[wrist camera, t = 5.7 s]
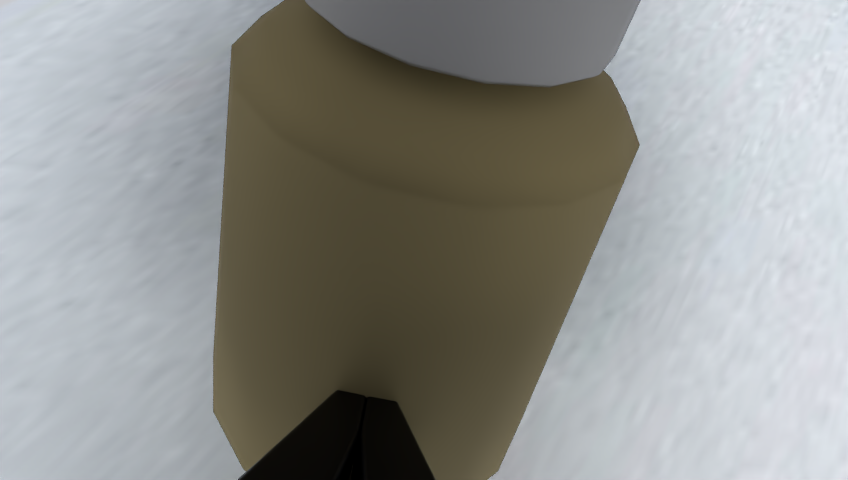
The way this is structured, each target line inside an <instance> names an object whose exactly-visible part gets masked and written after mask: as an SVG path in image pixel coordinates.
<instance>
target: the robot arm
mask: <svg viewBox="0 0 848 480" xmlns="http://www.w3.org/2000/svg"><path fill="white" fill-rule="evenodd" d="M365 402H366V403H365ZM364 407H365V408H364ZM363 412H364V413H363ZM352 466H353V467H352ZM351 471H352V472H351ZM350 476H351V477H350ZM238 480H436V479H435V477H434V475H433V473H432V471H431V469H430V467H429V465H428V463H427V461H426V459H425V457H424V455H423V453H422V451H421V449H420V447H419V445H418V443H417V441H416V439H415V437H414V434H413V432H412V430H411V428H410V426H409V424H408V422H407V420H406V418H405V416H404V414H403V412H402V410H401V408H400V406H399V404H398V402H396V401H391V400H386V399H381V398H376V397H367V399H366V397H365V396H364V395H361V394H356V393H351V392H345V391H340V390H336V391H335V392H334V393H332V394H331V395H330V396H329V397H328V398H327V399H326V400H325V401H324V402H323V403H321V404H320V405H319V406H318V407H317V408H316V409H315V410H314V411H313V412H312V413H310V414H309V415H308V416H307V417H306V418H305V419H304V420H303V421H302V422H300V423H299V424H298V425H297V426H296V427H295V428H294V429H293V430H292V431H291V432H289V433H288V434H287V435H286V436H285V437H284V438H283V439H282V440H281V441H280V442H278V443H277V444H276V445H275V446H274V447H273V448H272V449H271V450H270V451H269V452H267V453H266V454H265V455H264V456H263V457H262V458H261V459H260V460H259V461H258V462H256V463H255V464H254V465H253V466H252V467H251V468H250V469H249V470H248V471H247V472H245V473H244V474H243V475H242V476H241V477H240V478H239V479H238Z"/></svg>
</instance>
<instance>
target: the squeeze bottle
mask: <svg viewBox="0 0 848 480" xmlns="http://www.w3.org/2000/svg"><path fill="white" fill-rule="evenodd" d="M639 3H640V0H284V1H283V2H281V3H280V4H279V5H277V6H276V7H274V8H273V9H271V10H270V11H268V12H267V13H265V14H264V15H263V16H261V17H260V18H259V19H258V20H257V21H256V22H255V23H254V24H253V25H252V26H251V27H250V28H249V29H248V30H247V31H246V32H245V33H244V34H243V35H242V36H241V37H240V38H239V39H238V40H237V41H236V42H235V43H234V44H233V45H232V49H231V66H230V83H229V99H228V116H227V133H226V150H225V167H224V184H223V201H222V217H221V234H220V251H219V268H218V285H217V302H216V319H215V336H214V352H213V412H214V414H215V416H216V418H217V420H218V421H219V423H220V425H221V427H222V429H223V431H224V433H225V435H226V437H227V439H228V441H229V443H230V444H231V446H232V448H233V450H234V452H235V454H236V456H237V458H238V460H239V462H240V464H241V466H242V467H243V469H244V470H245V471H246V472H247V471H248V470H249V469H250V468H251V467H252V466H253V465H254V464H255V463H256V462H258V461H259V460H260V459H261V458H262V457H263V456H264V455H265V454H266V453H267V452H269V451H270V450H271V449H272V448H273V447H274V446H275V445H276V444H277V443H278V442H280V441H281V440H282V439H283V438H284V437H285V436H286V435H287V434H288V433H289V432H291V431H292V430H293V429H294V428H295V427H296V426H297V425H298V424H299V423H300V422H302V421H303V420H304V419H305V418H306V417H307V416H308V415H309V414H310V413H312V412H313V411H314V410H315V409H316V408H317V407H318V406H319V405H320V404H321V403H323V402H324V401H325V400H326V399H327V398H328V397H329V396H330V395H331V394H332V393H334V392H335V391H336V390H340V391H345V392H351V393H356V394H361V395H364V396H365V397H366V399H367V397H376V398H381V399H386V400H391V401H396V402H398V404H399V406H400V408H401V410H402V412H403V414H404V416H405V418H406V420H407V422H408V424H409V426H410V428H411V430H412V432H413V434H414V437H415V439H416V441H417V443H418V445H419V447H420V449H421V451H422V453H423V455H424V457H425V459H426V461H427V463H428V465H429V467H430V469H431V471H432V473H433V475H434V477H435V479H436V480H487V479H489V478H490V477H491V476H492V475H494V474H495V473H496V472H497V471H498V470H499V468H500V465H501V463H502V461H503V459H504V457H505V454H506V452H507V450H508V448H509V446H510V443H511V441H512V439H513V437H514V435H515V432H516V430H517V428H518V426H519V423H520V421H521V419H522V417H523V414H524V412H525V410H526V407H527V405H528V403H529V401H530V398H531V396H532V394H533V391H534V389H535V387H536V384H537V382H538V380H539V377H540V375H541V373H542V370H543V368H544V366H545V363H546V361H547V359H548V356H549V354H550V352H551V350H552V347H553V345H554V343H555V340H556V338H557V336H558V333H559V331H560V329H561V326H562V324H563V322H564V319H565V317H566V315H567V312H568V310H569V308H570V305H571V303H572V301H573V298H574V296H575V294H576V292H577V289H578V287H579V285H580V282H581V280H582V278H583V275H584V273H585V271H586V268H587V266H588V264H589V261H590V259H591V257H592V254H593V252H594V250H595V247H596V245H597V243H598V241H599V238H600V236H601V234H602V231H603V229H604V227H605V224H606V222H607V220H608V217H609V215H610V213H611V210H612V208H613V206H614V203H615V201H616V199H617V196H618V194H619V192H620V190H621V187H622V185H623V183H624V180H625V178H626V176H627V173H628V171H629V169H630V166H631V164H632V162H633V159H634V157H635V155H636V152H637V150H638V148H639V145H640V144H639V141H638V139H637V136H636V133H635V131H634V128H633V125H632V122H631V120H630V117H629V114H628V111H627V109H626V106H625V104H624V102H623V100H622V98H621V96H620V94H619V92H618V90H617V88H616V86H615V84H614V82H613V80H612V79H611V77H610V76H609V75H608V74H607V73H606V72H605V71H604V69H605V67H606V66H607V65H608V64H609V62H610V61H611V60H612V59H613V57H614V56H615V54H616V52H617V50H618V48H619V46H620V44H621V41H622V39H623V37H624V35H625V33H626V31H627V28H628V26H629V24H630V22H631V20H632V18H633V15H634V13H635V11H636V9H637V7H638V5H639ZM365 403H366V402H365ZM364 408H365V407H364ZM363 413H364V412H363ZM352 467H353V466H352ZM351 472H352V471H351ZM350 477H351V476H350Z"/></svg>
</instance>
